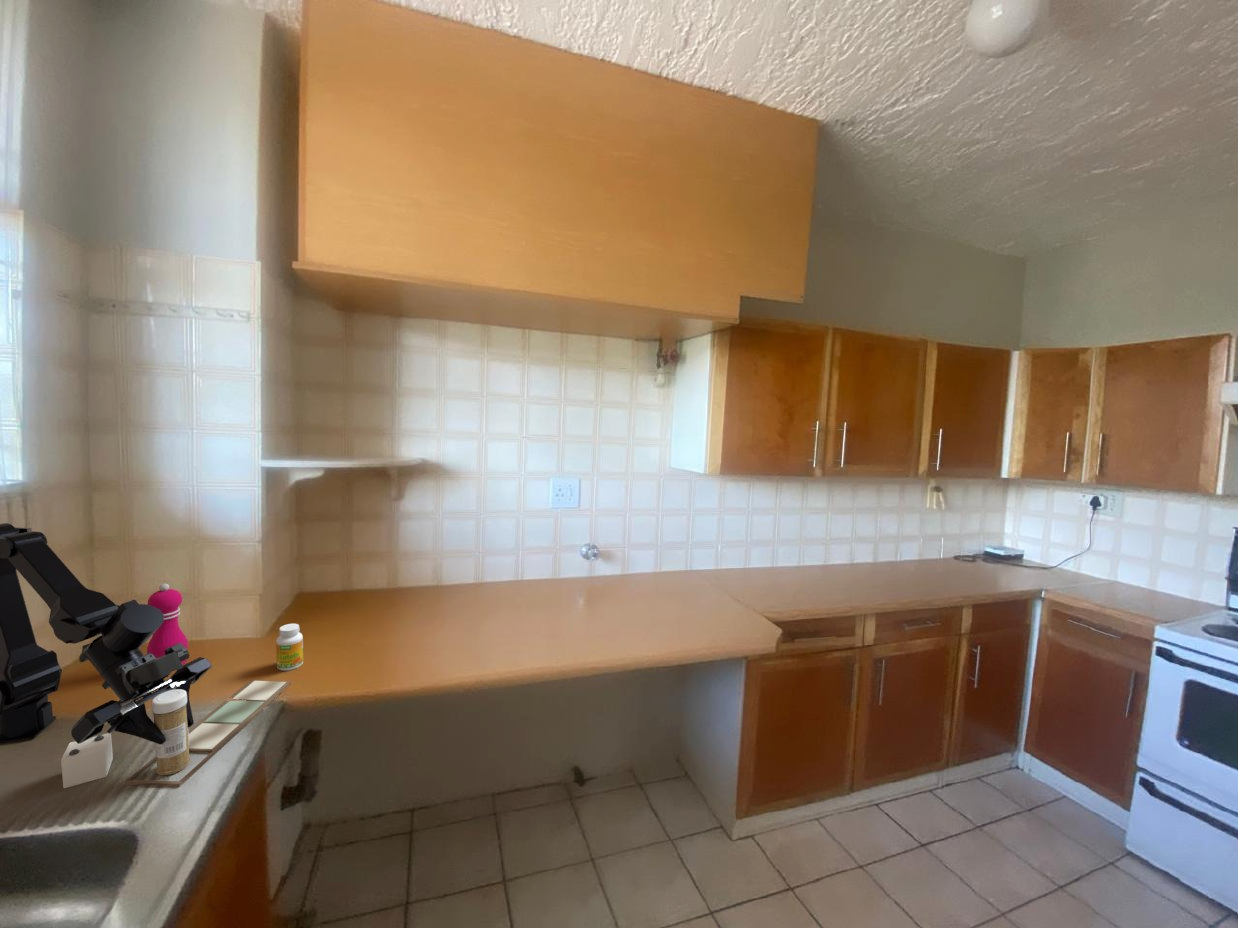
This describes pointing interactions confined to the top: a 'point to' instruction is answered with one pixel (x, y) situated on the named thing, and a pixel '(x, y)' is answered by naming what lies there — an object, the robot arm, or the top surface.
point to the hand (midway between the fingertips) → (177, 733)
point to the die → (87, 760)
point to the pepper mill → (166, 621)
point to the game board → (221, 725)
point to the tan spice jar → (171, 731)
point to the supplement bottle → (289, 647)
